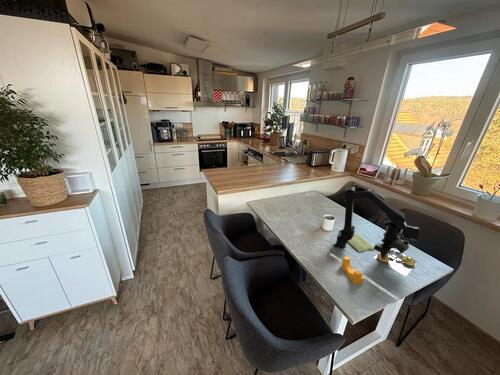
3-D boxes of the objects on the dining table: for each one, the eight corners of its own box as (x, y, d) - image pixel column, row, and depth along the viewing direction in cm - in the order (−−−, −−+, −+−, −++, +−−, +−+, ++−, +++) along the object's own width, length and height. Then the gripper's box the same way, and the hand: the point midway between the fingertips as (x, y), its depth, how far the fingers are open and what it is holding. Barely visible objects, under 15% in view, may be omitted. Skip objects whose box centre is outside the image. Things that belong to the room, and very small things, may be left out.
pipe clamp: (362, 283, 100) (365, 273, 97) (354, 284, 99) (357, 274, 97) (348, 265, 111) (351, 256, 108) (341, 266, 110) (343, 257, 108)
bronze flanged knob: (385, 264, 110) (388, 256, 108) (374, 258, 114) (377, 250, 112) (390, 260, 113) (393, 252, 111) (379, 254, 118) (382, 246, 115)
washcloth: (355, 234, 137) (356, 231, 136) (375, 252, 121) (377, 248, 120) (338, 237, 134) (339, 233, 133) (357, 255, 119) (358, 251, 117)
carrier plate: (405, 277, 103) (408, 270, 101) (373, 259, 115) (375, 252, 113) (418, 263, 113) (421, 257, 111) (387, 247, 125) (389, 241, 123)
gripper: (401, 248, 96) (391, 272, 102) (416, 235, 106) (407, 258, 112) (377, 236, 104) (369, 259, 110) (393, 225, 114) (385, 247, 120)
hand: (383, 256), depth 113 cm, fingers closed on bronze flanged knob, 3 cm apart
